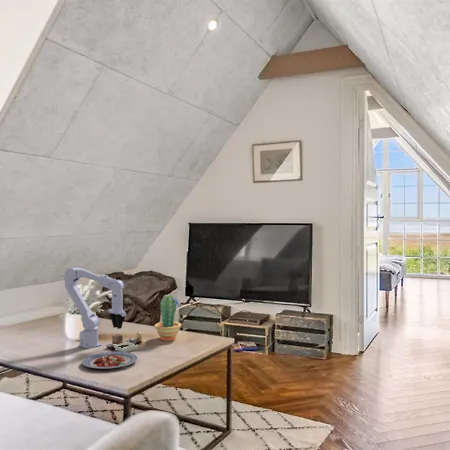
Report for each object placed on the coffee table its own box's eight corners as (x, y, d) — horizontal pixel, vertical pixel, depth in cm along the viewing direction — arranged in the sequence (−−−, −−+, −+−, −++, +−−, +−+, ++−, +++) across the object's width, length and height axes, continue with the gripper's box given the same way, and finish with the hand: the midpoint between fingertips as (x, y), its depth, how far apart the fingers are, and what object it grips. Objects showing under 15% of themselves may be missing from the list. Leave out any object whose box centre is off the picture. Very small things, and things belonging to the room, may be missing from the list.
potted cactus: (168, 343, 263) (168, 298, 262) (148, 339, 272) (148, 295, 271) (187, 337, 275) (186, 294, 274) (167, 333, 284) (167, 292, 284)
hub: (130, 346, 257) (130, 343, 257) (125, 344, 261) (125, 342, 261) (137, 344, 261) (137, 342, 261) (132, 342, 265) (132, 340, 265)
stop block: (116, 347, 254) (116, 336, 254) (112, 346, 257) (112, 335, 257) (122, 346, 257) (122, 335, 257) (118, 344, 260) (118, 334, 260)
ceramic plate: (72, 363, 227) (72, 357, 227) (119, 352, 245) (119, 347, 245) (99, 376, 209) (99, 369, 209) (148, 363, 227) (148, 357, 227)
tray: (122, 353, 244) (122, 348, 244) (113, 349, 251) (113, 345, 250) (138, 349, 250) (138, 345, 250) (128, 346, 257) (128, 342, 257)
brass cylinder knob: (130, 342, 259) (130, 335, 259) (127, 341, 261) (127, 334, 261) (142, 339, 264) (142, 332, 264) (139, 339, 266) (139, 331, 266)
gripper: (130, 303, 254) (131, 328, 255) (116, 300, 265) (116, 324, 265) (119, 305, 250) (119, 331, 250) (105, 301, 260) (105, 326, 260)
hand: (117, 327), depth 257 cm, fingers open, 3 cm apart
